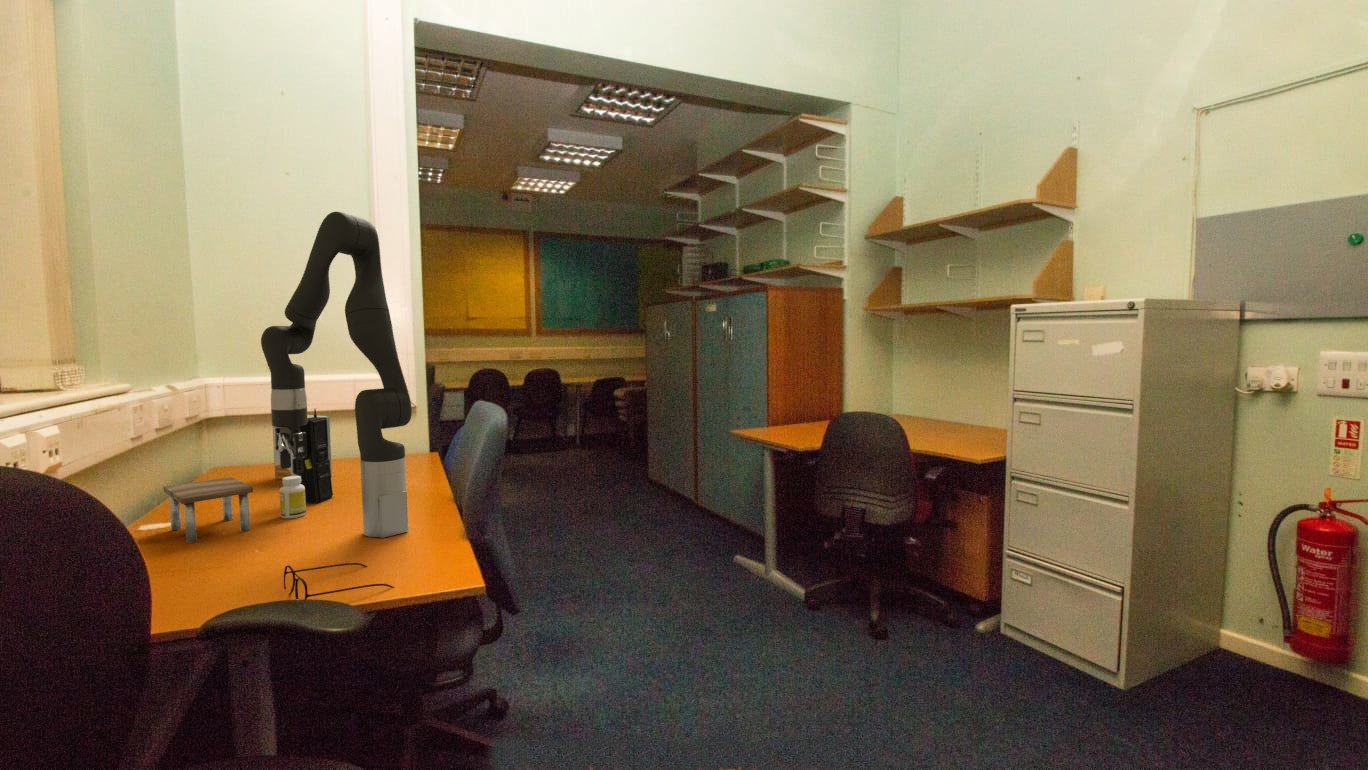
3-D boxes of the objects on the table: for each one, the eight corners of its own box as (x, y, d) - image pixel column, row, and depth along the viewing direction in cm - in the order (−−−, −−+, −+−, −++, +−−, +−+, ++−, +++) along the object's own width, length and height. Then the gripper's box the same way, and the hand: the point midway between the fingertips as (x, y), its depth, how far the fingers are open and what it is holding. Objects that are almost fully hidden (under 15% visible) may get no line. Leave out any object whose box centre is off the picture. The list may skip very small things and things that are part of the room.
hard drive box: (273, 479, 193) (270, 416, 191) (295, 474, 200) (292, 413, 198) (312, 483, 188) (309, 418, 186) (333, 477, 195) (330, 415, 194)
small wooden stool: (255, 530, 143) (252, 487, 142) (184, 544, 133) (181, 498, 132) (233, 517, 153) (231, 476, 152) (166, 529, 143) (163, 486, 142)
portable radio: (317, 504, 164) (313, 412, 162) (295, 504, 164) (290, 411, 162) (334, 497, 172) (330, 408, 170) (313, 496, 172) (309, 408, 170)
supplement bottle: (310, 512, 157) (309, 474, 156) (298, 519, 152) (296, 480, 151) (289, 512, 157) (287, 475, 156) (275, 519, 152) (273, 480, 151)
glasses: (281, 590, 111) (284, 562, 111) (369, 576, 122) (371, 551, 122) (303, 615, 101) (306, 585, 101) (396, 598, 112) (399, 571, 112)
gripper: (317, 407, 151) (319, 472, 152) (295, 402, 160) (298, 464, 161) (282, 410, 145) (285, 478, 146) (261, 405, 154) (264, 468, 155)
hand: (291, 470), depth 154 cm, fingers open, 8 cm apart
